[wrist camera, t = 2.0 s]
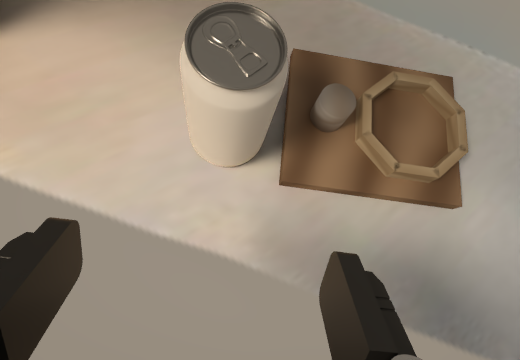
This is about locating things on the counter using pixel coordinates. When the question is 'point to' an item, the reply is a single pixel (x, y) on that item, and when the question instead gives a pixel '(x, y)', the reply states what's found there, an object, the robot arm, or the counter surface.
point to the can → (231, 80)
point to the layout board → (372, 131)
